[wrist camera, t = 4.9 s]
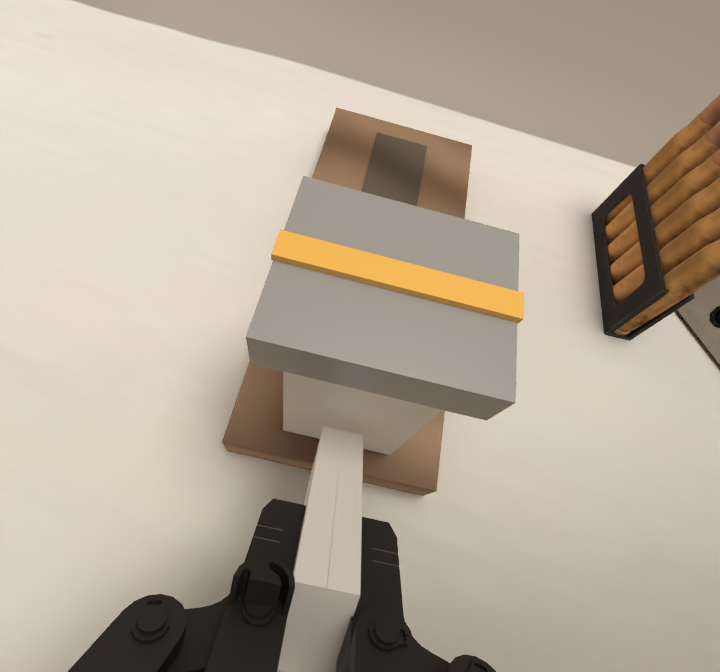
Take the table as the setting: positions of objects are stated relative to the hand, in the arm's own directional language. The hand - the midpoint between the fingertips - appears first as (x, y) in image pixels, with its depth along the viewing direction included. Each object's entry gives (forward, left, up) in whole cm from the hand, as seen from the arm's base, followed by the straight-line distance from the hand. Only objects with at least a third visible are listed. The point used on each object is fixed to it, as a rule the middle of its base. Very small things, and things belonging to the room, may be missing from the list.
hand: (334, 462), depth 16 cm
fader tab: (+2, -3, -4) cm, 5 cm away
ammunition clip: (-1, -25, -6) cm, 25 cm away
